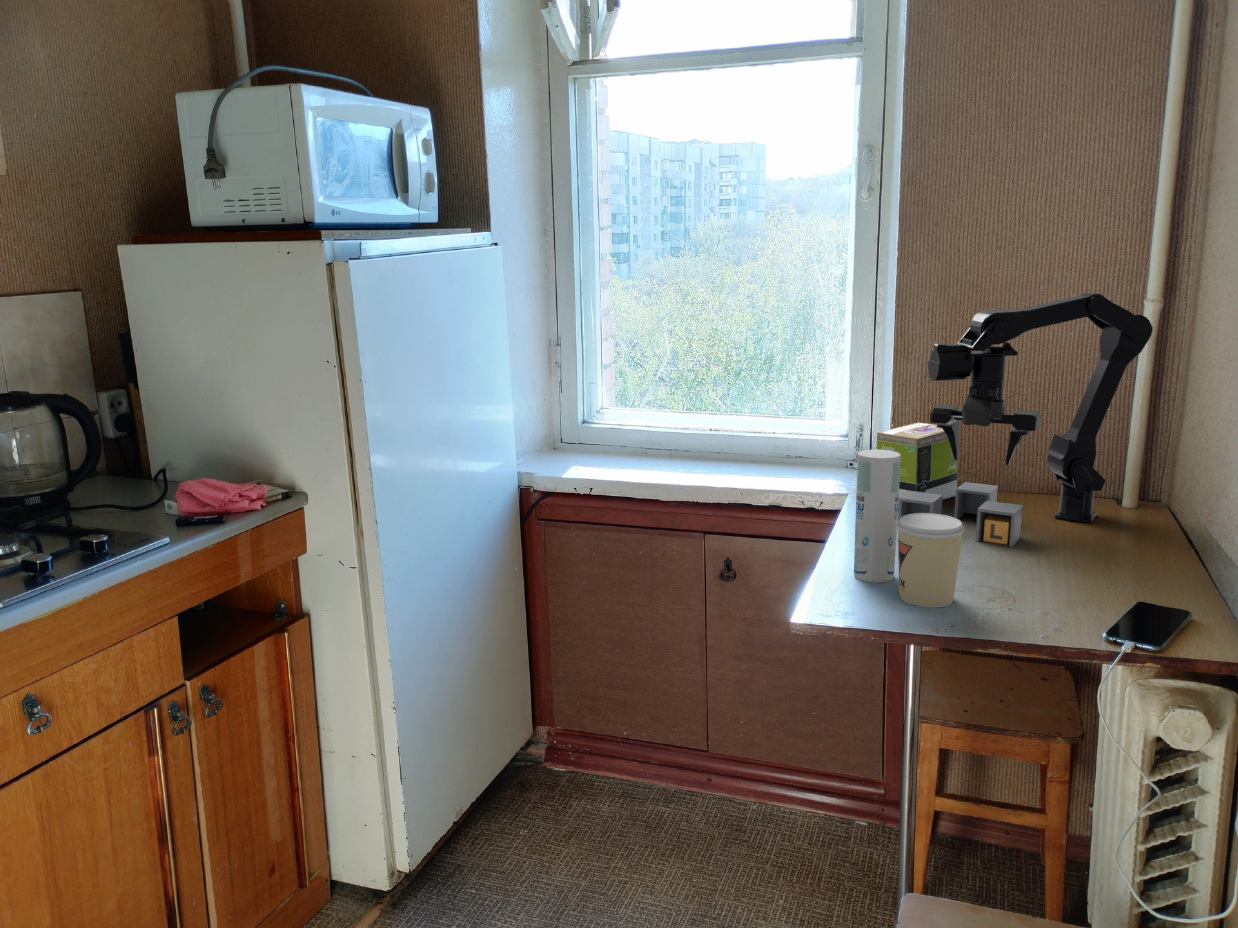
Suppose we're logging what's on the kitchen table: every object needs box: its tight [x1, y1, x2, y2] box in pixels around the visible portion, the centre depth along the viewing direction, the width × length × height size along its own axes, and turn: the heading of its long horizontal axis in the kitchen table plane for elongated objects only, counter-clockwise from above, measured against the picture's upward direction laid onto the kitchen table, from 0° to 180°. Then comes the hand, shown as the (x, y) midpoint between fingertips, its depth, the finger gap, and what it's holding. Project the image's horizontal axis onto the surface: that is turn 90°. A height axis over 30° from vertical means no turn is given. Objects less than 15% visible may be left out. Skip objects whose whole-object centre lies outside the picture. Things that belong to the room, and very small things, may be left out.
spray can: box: [853, 449, 901, 584], centre depth 152 cm, size 6×6×20 cm
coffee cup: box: [897, 513, 965, 609], centre depth 143 cm, size 9×9×12 cm
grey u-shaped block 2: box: [897, 491, 944, 530], centre depth 179 cm, size 6×6×6 cm
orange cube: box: [982, 514, 1012, 545], centre depth 171 cm, size 4×4×4 cm
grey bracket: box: [974, 501, 1024, 548], centre depth 171 cm, size 6×6×6 cm
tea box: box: [876, 422, 959, 505], centre depth 198 cm, size 15×10×15 cm, turn 130°
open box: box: [953, 481, 999, 520], centre depth 185 cm, size 6×6×6 cm
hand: (981, 462), depth 182 cm, fingers open, 9 cm apart
